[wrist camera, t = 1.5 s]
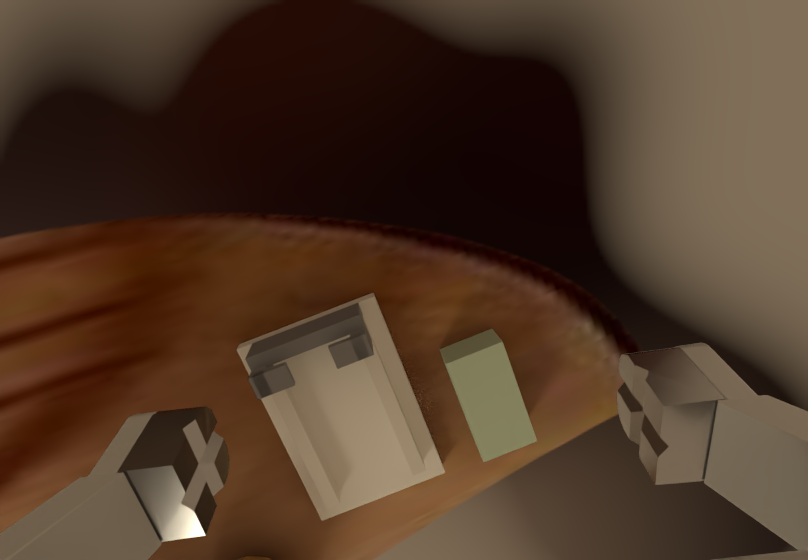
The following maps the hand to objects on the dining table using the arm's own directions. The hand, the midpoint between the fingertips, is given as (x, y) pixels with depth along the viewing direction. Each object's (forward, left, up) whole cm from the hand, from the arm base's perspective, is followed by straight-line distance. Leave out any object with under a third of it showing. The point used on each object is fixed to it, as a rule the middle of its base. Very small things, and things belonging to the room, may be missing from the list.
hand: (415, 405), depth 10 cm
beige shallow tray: (-16, +8, -32) cm, 37 cm away
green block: (-19, -4, -33) cm, 38 cm away
